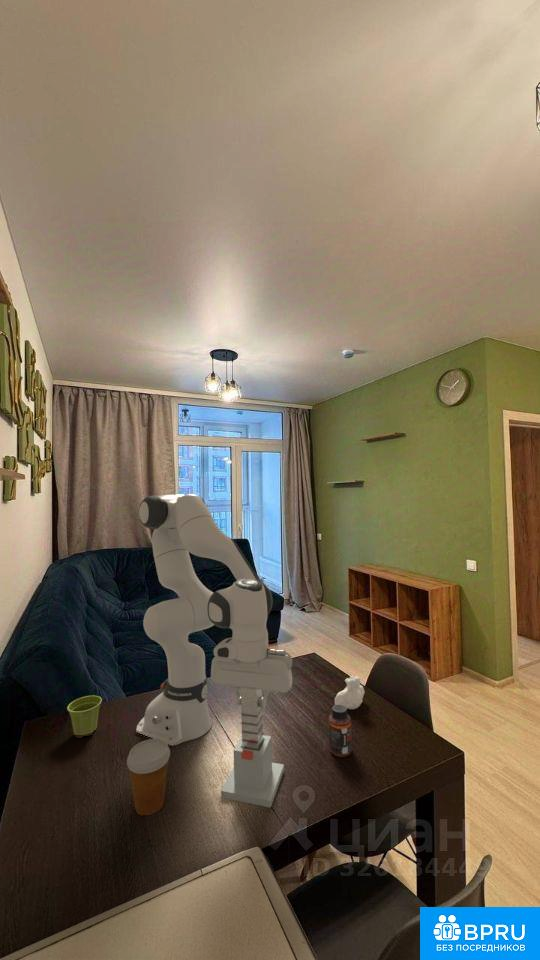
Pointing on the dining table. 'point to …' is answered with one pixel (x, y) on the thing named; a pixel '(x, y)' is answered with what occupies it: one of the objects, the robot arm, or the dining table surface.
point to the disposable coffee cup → (148, 774)
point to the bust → (351, 693)
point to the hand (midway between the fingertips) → (251, 705)
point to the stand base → (253, 775)
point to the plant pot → (84, 714)
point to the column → (251, 719)
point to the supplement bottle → (340, 731)
